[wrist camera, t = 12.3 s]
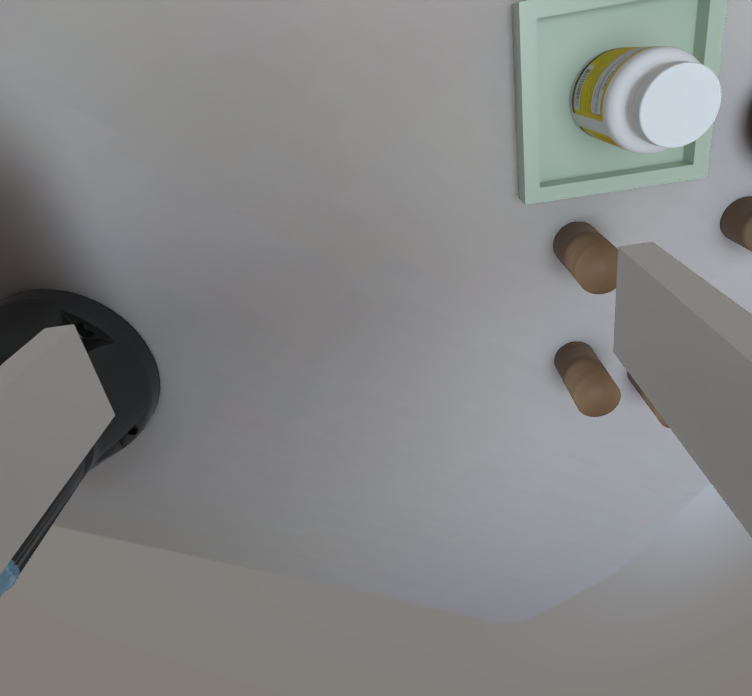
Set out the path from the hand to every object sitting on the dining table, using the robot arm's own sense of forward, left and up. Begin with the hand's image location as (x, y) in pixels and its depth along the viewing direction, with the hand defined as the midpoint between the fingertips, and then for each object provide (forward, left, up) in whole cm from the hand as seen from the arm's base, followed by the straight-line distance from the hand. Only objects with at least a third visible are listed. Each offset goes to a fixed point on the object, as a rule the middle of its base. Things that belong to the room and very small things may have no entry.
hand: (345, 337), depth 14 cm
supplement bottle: (+16, +1, -28) cm, 33 cm away
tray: (+16, +1, -29) cm, 33 cm away
